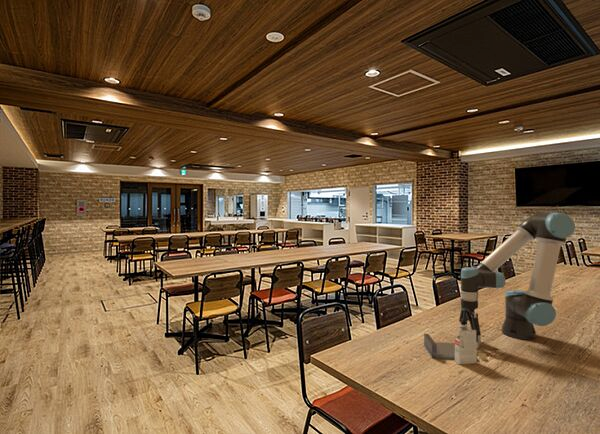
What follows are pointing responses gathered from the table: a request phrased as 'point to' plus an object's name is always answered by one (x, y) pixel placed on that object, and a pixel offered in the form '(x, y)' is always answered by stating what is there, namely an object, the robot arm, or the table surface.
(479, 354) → the brass key
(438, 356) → the grey bookend
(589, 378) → the table surface
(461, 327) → the block
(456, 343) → the ink box
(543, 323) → the robot arm
